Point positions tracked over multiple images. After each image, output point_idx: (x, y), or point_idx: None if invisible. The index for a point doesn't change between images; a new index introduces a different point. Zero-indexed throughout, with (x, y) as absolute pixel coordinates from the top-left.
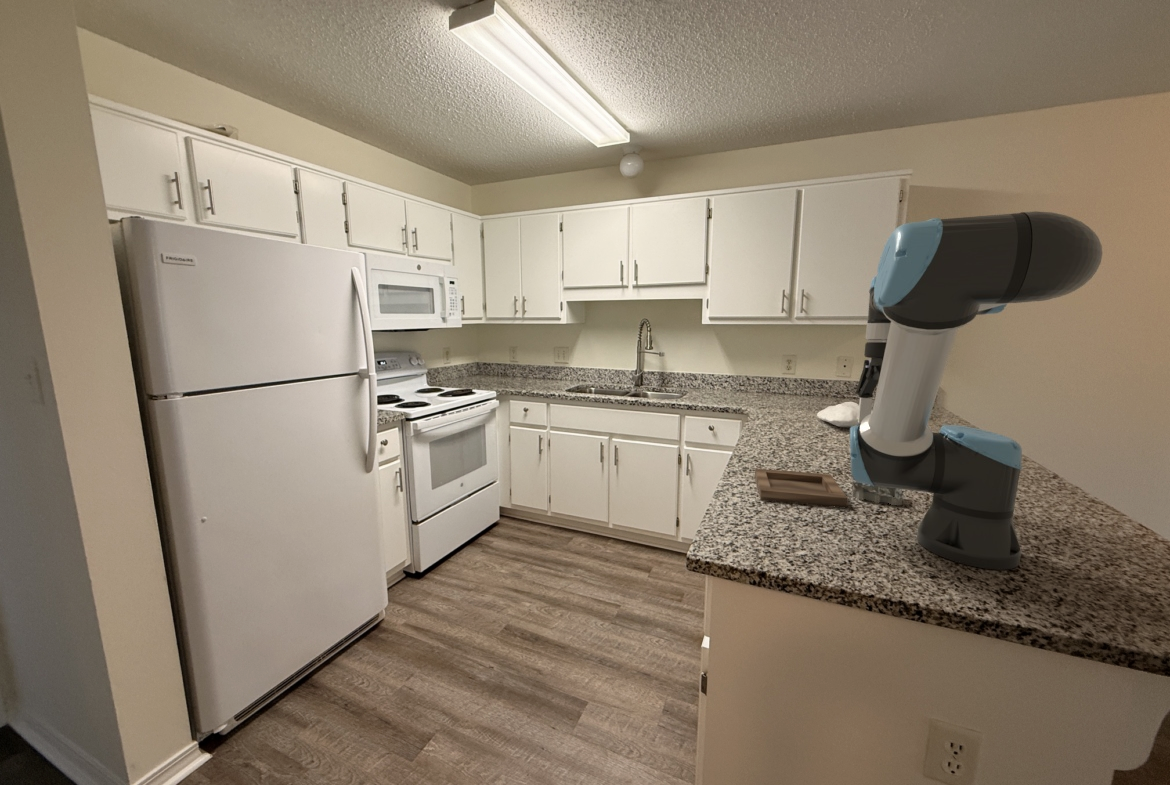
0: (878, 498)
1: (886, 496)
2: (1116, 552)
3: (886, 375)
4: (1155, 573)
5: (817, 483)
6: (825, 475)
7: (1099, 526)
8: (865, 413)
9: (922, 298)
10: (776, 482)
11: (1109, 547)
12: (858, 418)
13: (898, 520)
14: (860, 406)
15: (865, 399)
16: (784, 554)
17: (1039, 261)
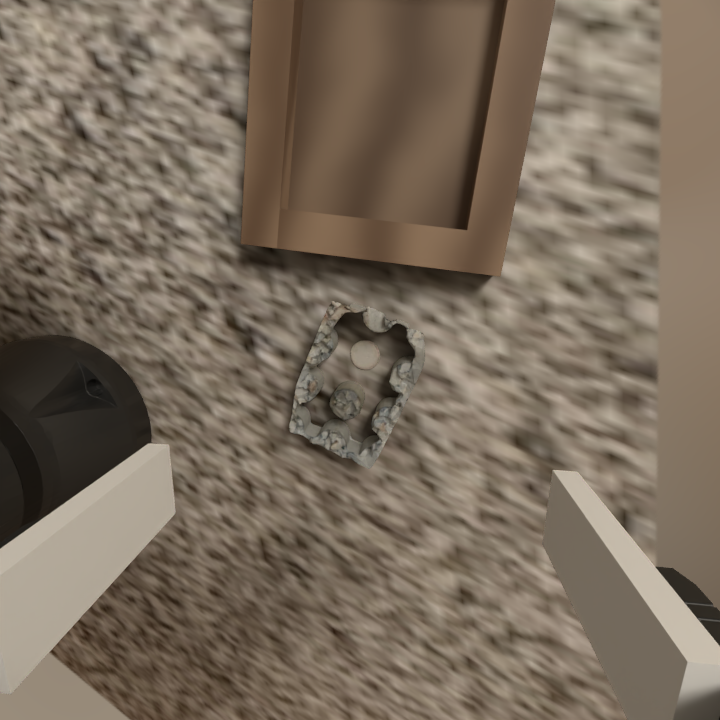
0: (311, 366)
1: (317, 393)
2: (139, 680)
3: None
4: (72, 667)
5: (454, 212)
6: (484, 250)
7: None
8: (578, 563)
9: None
10: (449, 26)
11: (158, 687)
12: (582, 489)
13: (196, 357)
14: (621, 568)
15: (665, 693)
16: None
17: None
